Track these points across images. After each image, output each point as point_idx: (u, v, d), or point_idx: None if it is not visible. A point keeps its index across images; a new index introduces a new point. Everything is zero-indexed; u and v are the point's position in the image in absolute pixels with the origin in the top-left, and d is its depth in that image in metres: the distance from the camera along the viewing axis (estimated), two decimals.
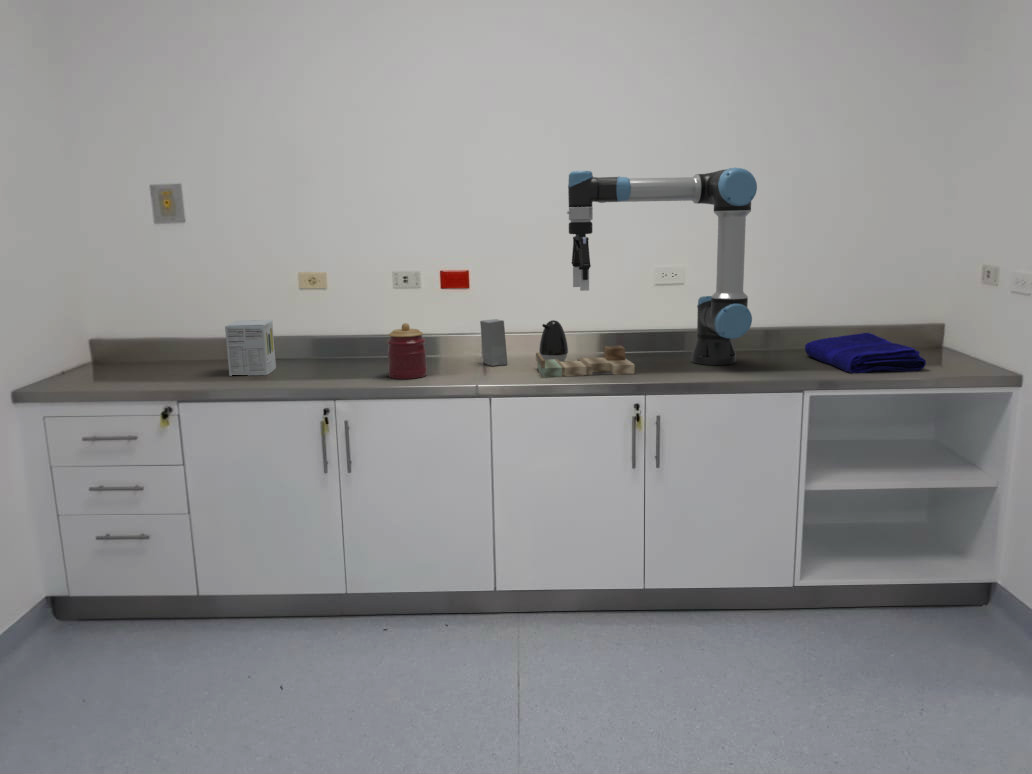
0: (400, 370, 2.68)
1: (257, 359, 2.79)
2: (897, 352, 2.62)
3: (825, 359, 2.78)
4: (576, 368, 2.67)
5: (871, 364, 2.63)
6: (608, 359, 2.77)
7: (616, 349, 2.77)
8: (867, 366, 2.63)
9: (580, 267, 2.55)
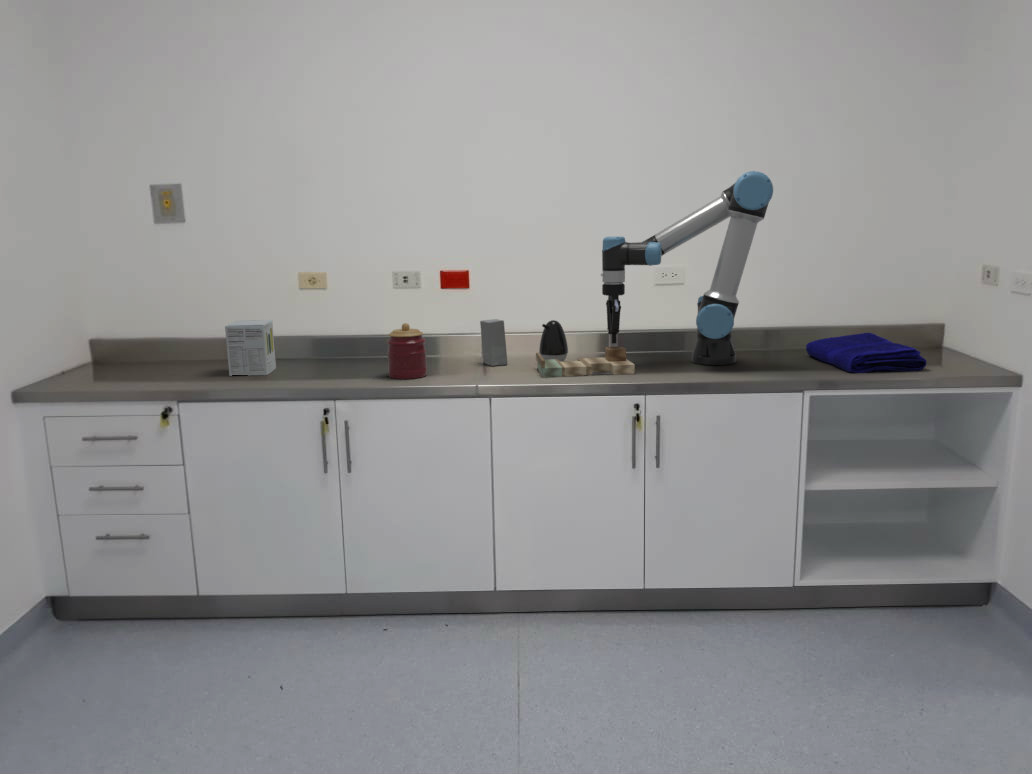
0: (400, 370, 2.68)
1: (257, 359, 2.79)
2: (898, 352, 2.62)
3: (826, 358, 2.78)
4: (576, 368, 2.67)
5: (872, 364, 2.63)
6: (609, 360, 2.75)
7: (617, 350, 2.75)
8: (868, 366, 2.63)
9: (609, 333, 2.79)
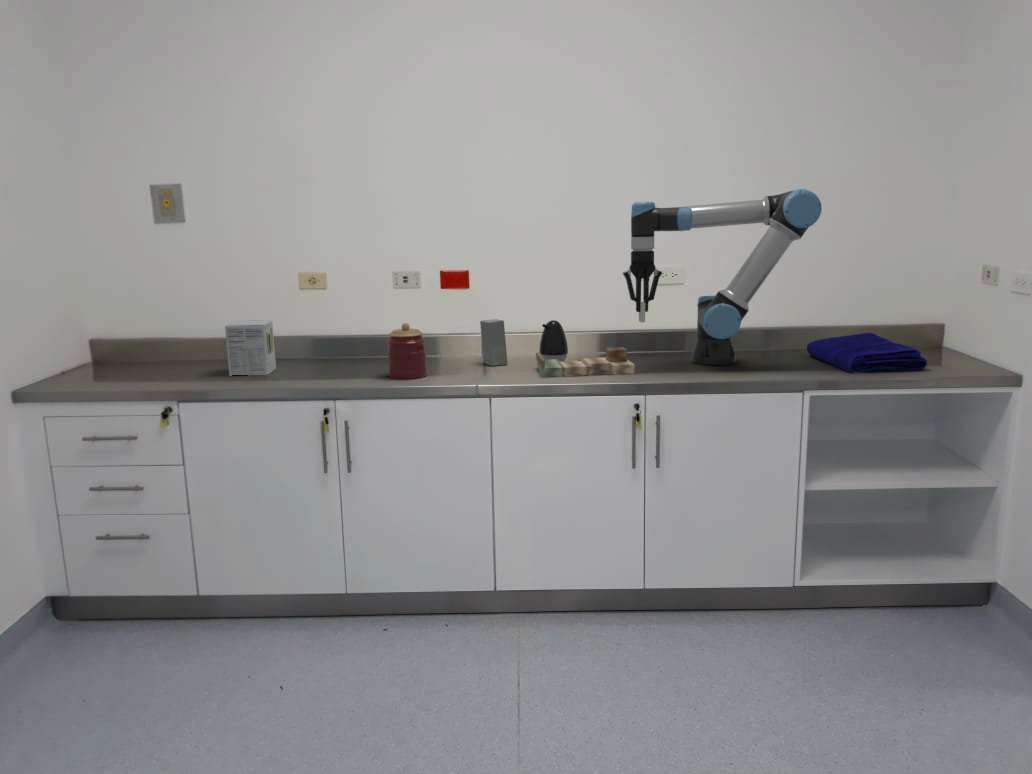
0: (400, 370, 2.68)
1: (257, 359, 2.79)
2: (898, 352, 2.62)
3: (826, 358, 2.79)
4: (576, 368, 2.67)
5: (872, 364, 2.63)
6: (610, 361, 2.74)
7: (618, 351, 2.73)
8: (868, 366, 2.63)
9: None
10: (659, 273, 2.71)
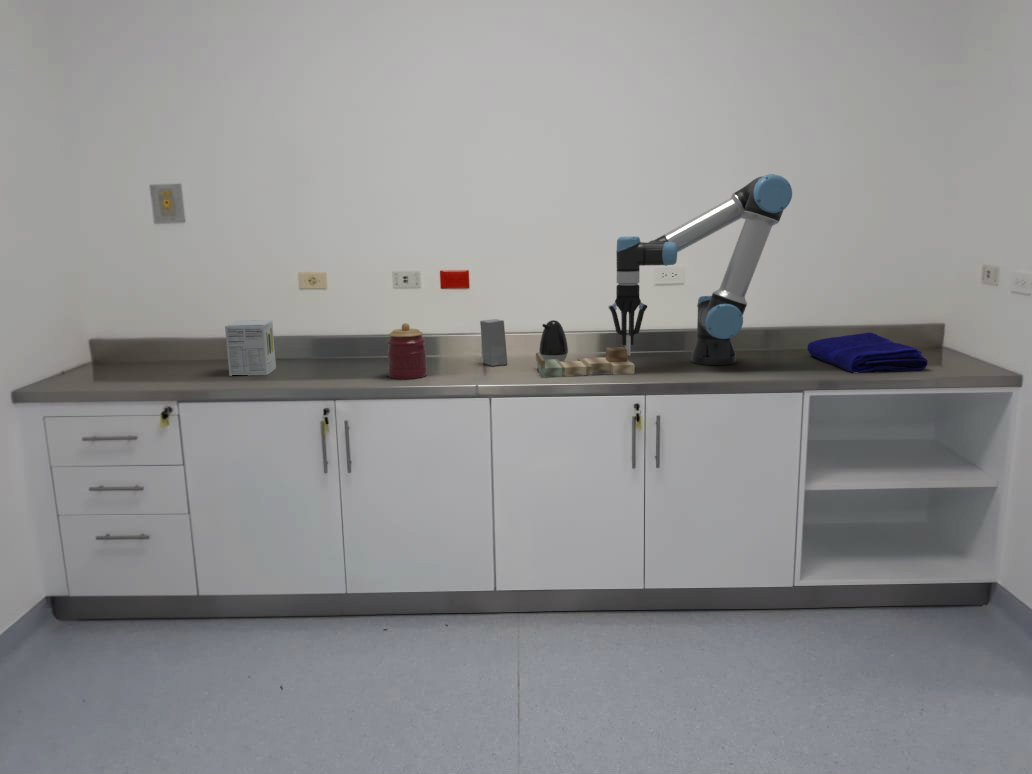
0: (400, 370, 2.68)
1: (257, 359, 2.79)
2: (899, 352, 2.62)
3: (827, 358, 2.79)
4: (576, 368, 2.67)
5: (873, 364, 2.64)
6: (610, 361, 2.74)
7: (618, 351, 2.73)
8: (869, 366, 2.64)
9: None
10: (644, 307, 2.72)
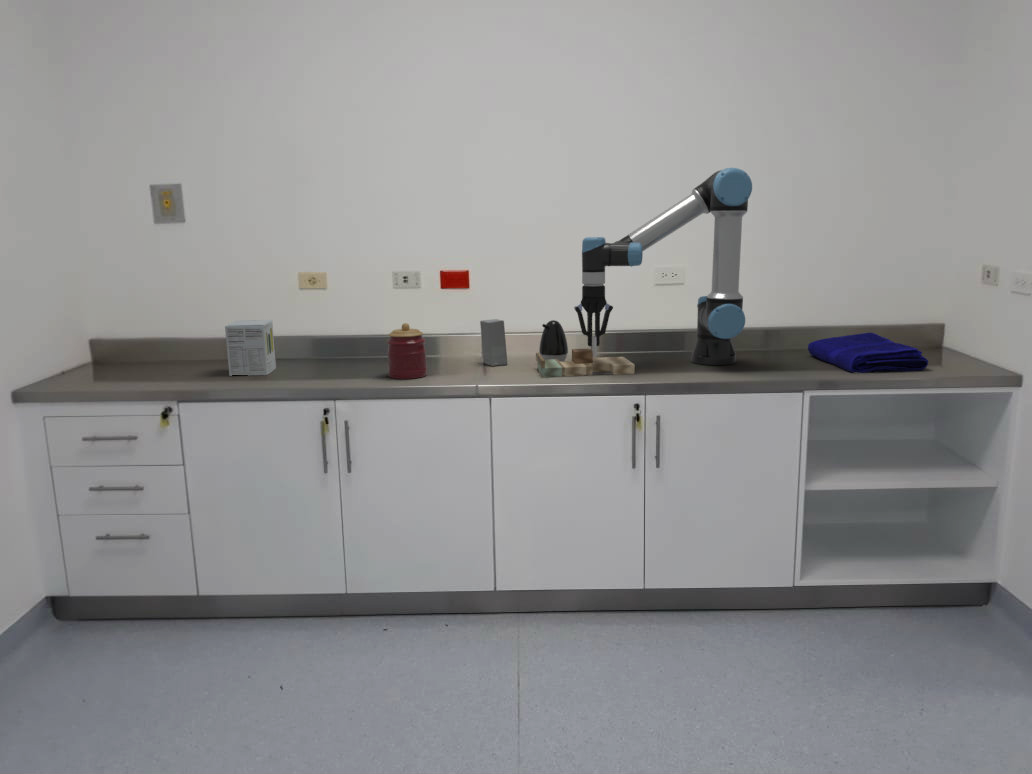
0: (400, 370, 2.68)
1: (257, 359, 2.79)
2: (899, 352, 2.63)
3: (827, 358, 2.79)
4: (576, 368, 2.67)
5: (873, 364, 2.64)
6: (575, 362, 2.73)
7: (583, 352, 2.72)
8: (869, 366, 2.64)
9: None
10: (610, 308, 2.71)
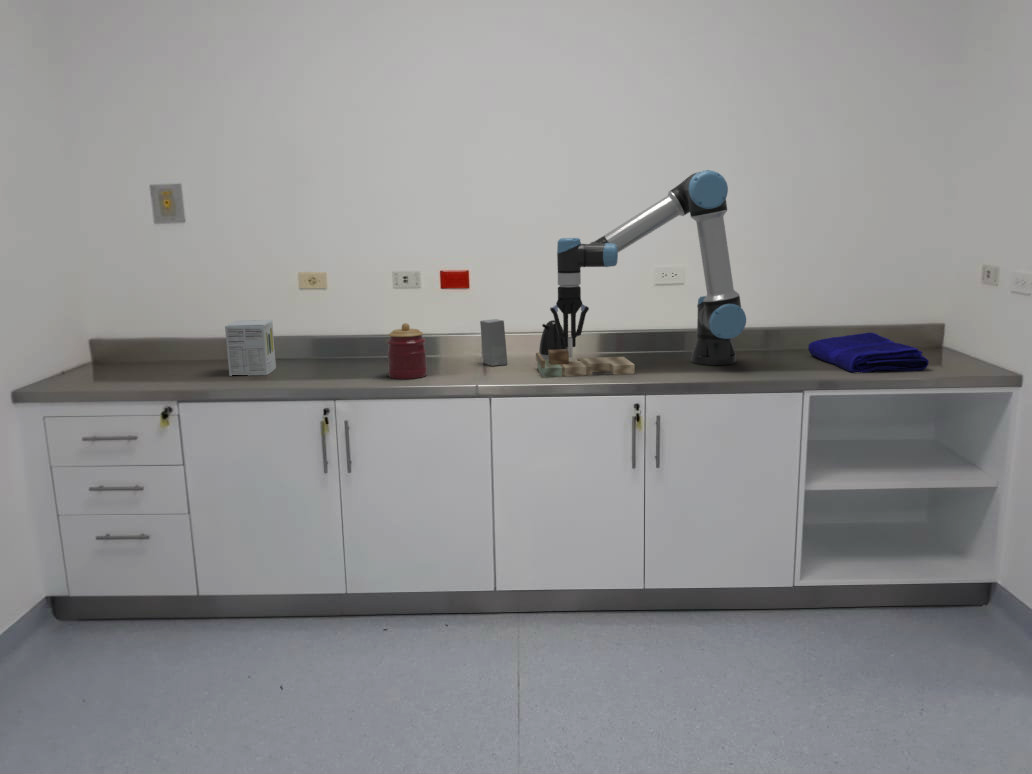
0: (400, 370, 2.68)
1: (257, 359, 2.79)
2: (900, 352, 2.63)
3: (828, 358, 2.79)
4: (576, 368, 2.67)
5: (873, 364, 2.64)
6: (551, 363, 2.72)
7: (559, 353, 2.72)
8: (869, 366, 2.64)
9: None
10: (586, 309, 2.70)
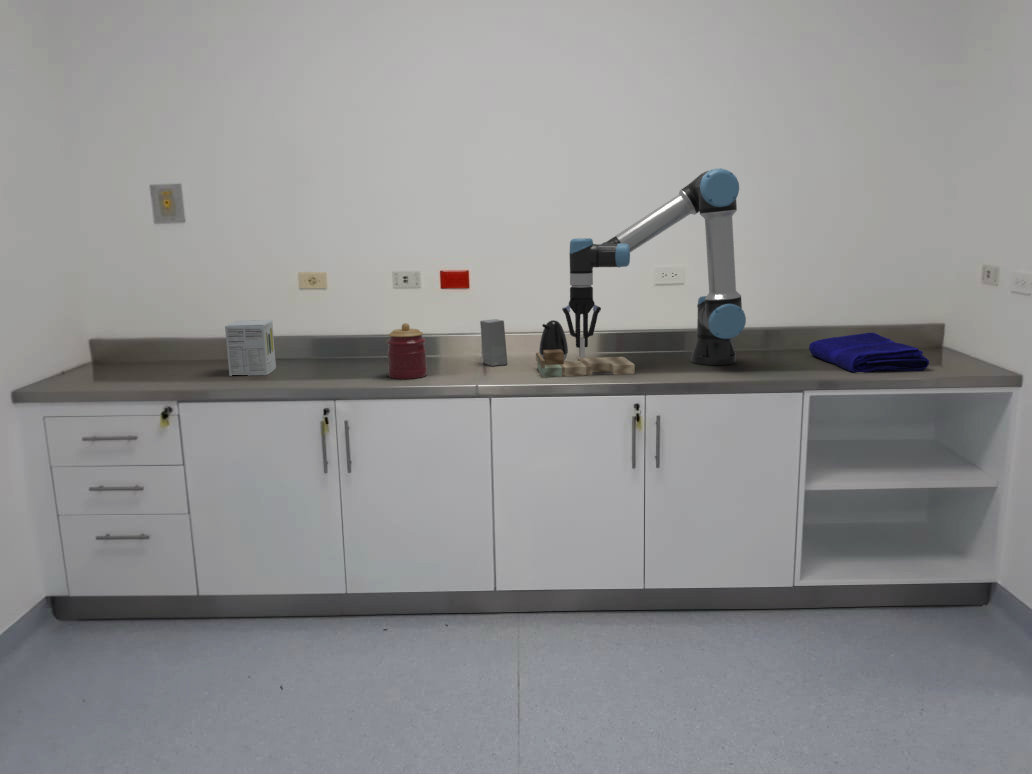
0: (400, 370, 2.68)
1: (257, 359, 2.79)
2: (900, 352, 2.63)
3: (828, 358, 2.79)
4: (576, 368, 2.67)
5: (874, 364, 2.64)
6: (546, 363, 2.72)
7: (554, 353, 2.72)
8: (870, 365, 2.64)
9: None
10: (598, 309, 2.71)
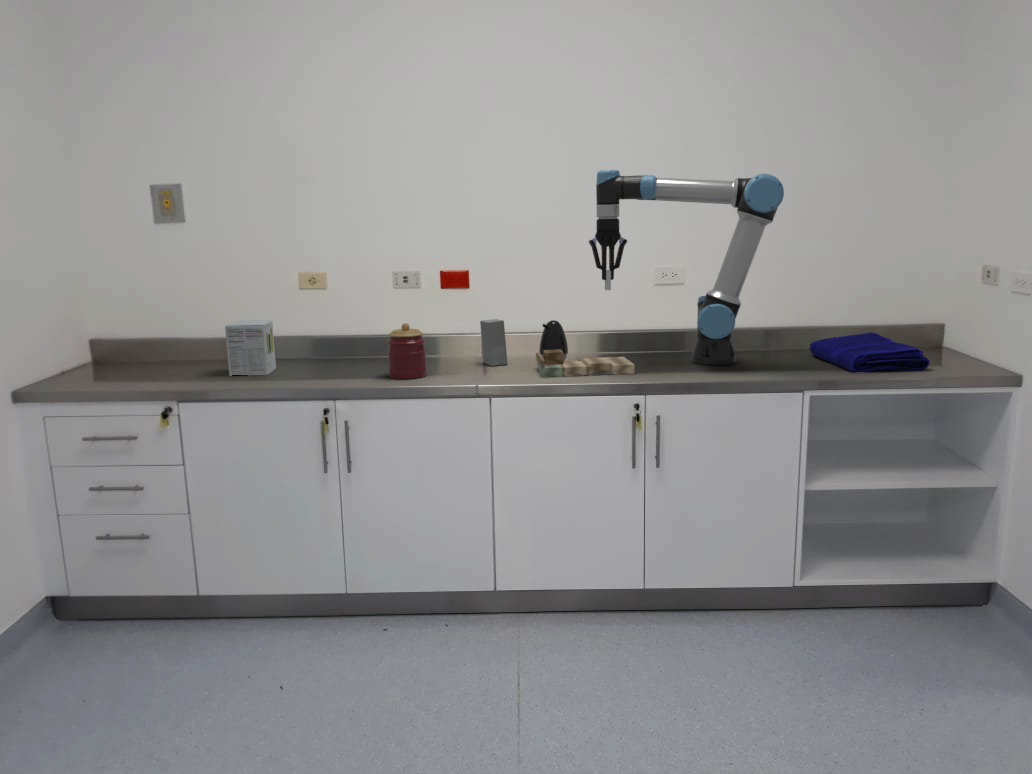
0: (400, 370, 2.68)
1: (257, 359, 2.79)
2: (900, 352, 2.63)
3: (829, 358, 2.79)
4: (576, 368, 2.67)
5: (874, 363, 2.64)
6: (546, 363, 2.72)
7: (554, 353, 2.72)
8: (870, 365, 2.64)
9: None
10: (624, 241, 2.73)
